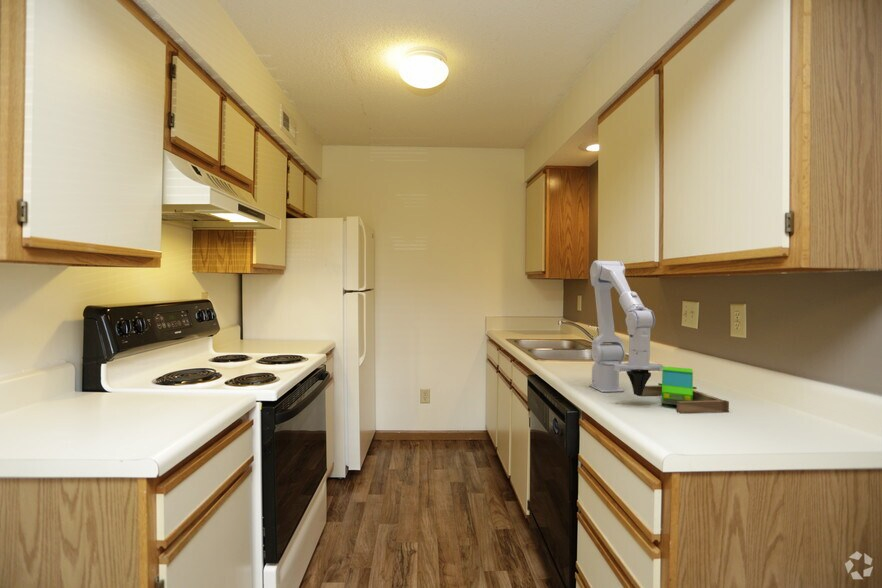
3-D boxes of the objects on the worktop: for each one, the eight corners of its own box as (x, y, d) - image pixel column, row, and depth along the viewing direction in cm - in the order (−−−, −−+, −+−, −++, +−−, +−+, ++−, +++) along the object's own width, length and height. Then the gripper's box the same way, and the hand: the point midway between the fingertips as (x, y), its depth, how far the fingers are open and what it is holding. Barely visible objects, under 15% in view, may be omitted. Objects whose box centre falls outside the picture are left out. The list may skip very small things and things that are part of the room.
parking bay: (638, 395, 141) (638, 385, 141) (680, 394, 143) (681, 385, 143) (680, 413, 121) (680, 402, 121) (728, 411, 123) (729, 401, 123)
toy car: (657, 406, 128) (658, 373, 128) (658, 396, 140) (659, 365, 140) (697, 412, 123) (698, 377, 123) (695, 401, 135) (695, 369, 135)
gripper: (623, 352, 125) (622, 399, 126) (670, 352, 127) (668, 398, 128) (611, 348, 132) (609, 392, 133) (655, 348, 134) (653, 391, 134)
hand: (637, 394), depth 131 cm, fingers closed
